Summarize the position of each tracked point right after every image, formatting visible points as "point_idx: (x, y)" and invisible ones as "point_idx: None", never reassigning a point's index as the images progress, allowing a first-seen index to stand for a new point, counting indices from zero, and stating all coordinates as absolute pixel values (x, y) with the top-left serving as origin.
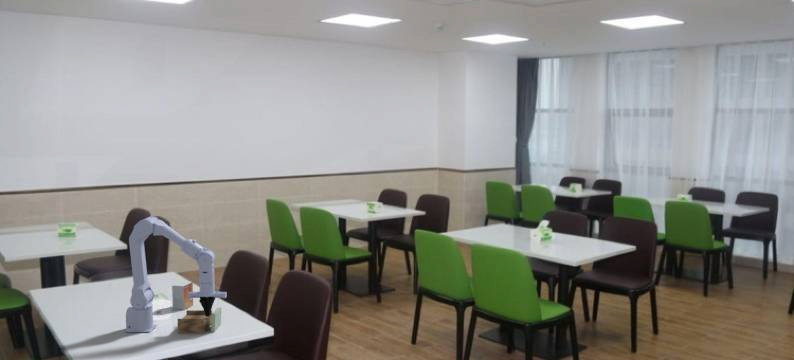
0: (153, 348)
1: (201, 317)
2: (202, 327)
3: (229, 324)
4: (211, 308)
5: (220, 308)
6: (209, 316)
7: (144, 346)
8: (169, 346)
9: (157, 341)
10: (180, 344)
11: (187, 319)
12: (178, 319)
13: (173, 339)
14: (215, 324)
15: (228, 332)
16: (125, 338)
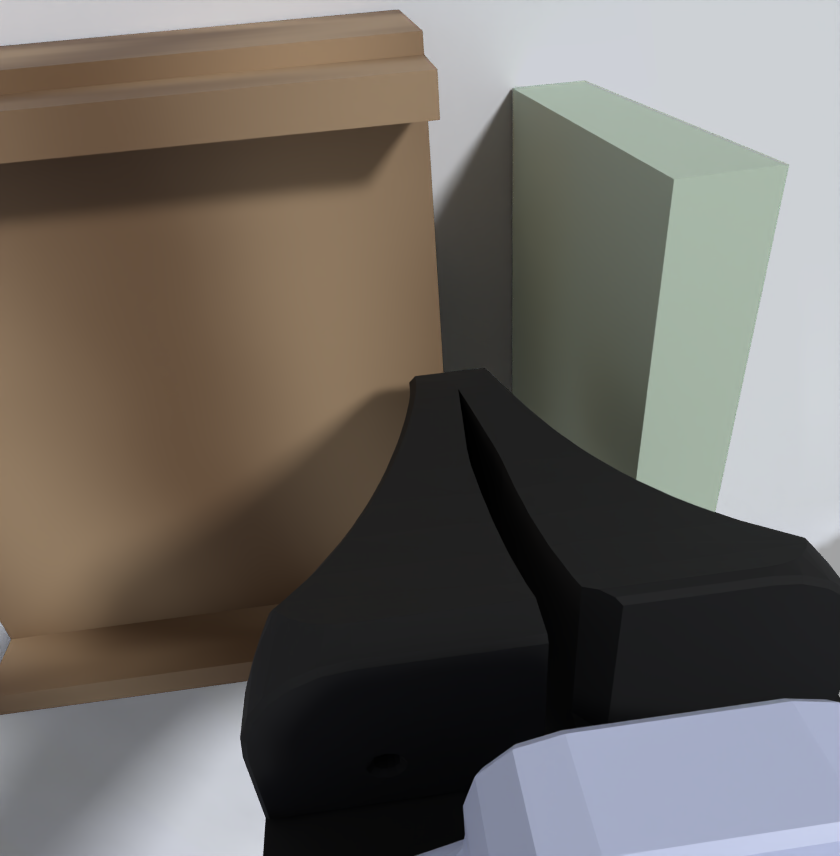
0: (130, 851)
1: (279, 355)
2: None
3: (749, 45)
4: (551, 436)
5: (763, 241)
6: (431, 275)
7: (7, 839)
8: (245, 806)
9: (29, 751)
10: None
11: (179, 685)
12: (15, 708)
13: (165, 692)
14: None
15: (753, 431)
16: None
